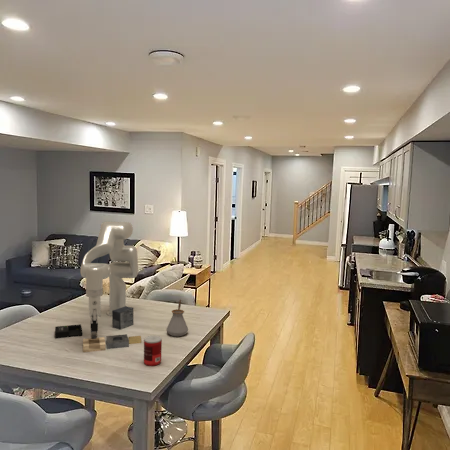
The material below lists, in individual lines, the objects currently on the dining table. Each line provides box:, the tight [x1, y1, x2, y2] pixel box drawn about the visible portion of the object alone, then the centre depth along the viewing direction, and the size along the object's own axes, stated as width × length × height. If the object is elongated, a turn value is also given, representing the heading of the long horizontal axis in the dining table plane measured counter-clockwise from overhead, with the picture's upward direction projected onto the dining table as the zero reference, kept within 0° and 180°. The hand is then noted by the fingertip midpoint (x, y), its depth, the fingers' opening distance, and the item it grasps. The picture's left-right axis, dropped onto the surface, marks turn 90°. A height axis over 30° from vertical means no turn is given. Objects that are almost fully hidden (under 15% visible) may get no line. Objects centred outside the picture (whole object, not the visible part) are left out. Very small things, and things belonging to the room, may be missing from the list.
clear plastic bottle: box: [90, 316, 98, 339], centre depth 197 cm, size 3×3×13 cm
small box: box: [111, 306, 134, 331], centre depth 227 cm, size 11×6×10 cm, turn 149°
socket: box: [105, 334, 130, 350], centre depth 202 cm, size 10×10×3 cm
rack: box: [82, 336, 107, 353], centre depth 198 cm, size 10×10×3 cm
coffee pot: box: [166, 299, 189, 338], centre depth 223 cm, size 21×12×15 cm, turn 1°
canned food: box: [143, 335, 163, 367], centre depth 183 cm, size 8×8×11 cm
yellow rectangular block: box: [128, 335, 142, 345], centre depth 205 cm, size 3×6×3 cm, turn 109°
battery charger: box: [54, 323, 83, 340], centre depth 213 cm, size 13×10×4 cm
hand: (94, 329), depth 197 cm, fingers closed on clear plastic bottle, 3 cm apart
